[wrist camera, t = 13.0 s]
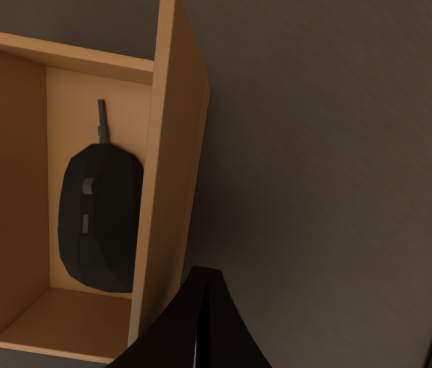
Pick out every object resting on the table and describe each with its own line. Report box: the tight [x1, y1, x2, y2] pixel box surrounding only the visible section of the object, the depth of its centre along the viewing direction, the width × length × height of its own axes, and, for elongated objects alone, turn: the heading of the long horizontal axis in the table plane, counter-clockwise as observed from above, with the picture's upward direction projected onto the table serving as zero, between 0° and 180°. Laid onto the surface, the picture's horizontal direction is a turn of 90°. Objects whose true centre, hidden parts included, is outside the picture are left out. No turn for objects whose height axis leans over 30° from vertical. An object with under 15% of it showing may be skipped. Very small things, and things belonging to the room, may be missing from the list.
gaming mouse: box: [57, 99, 144, 293], centre depth 15 cm, size 6×15×4 cm, turn 0°
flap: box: [127, 0, 207, 348], centre depth 9 cm, size 18×6×1 cm
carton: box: [0, 32, 211, 364], centre depth 15 cm, size 18×12×6 cm, turn 170°
